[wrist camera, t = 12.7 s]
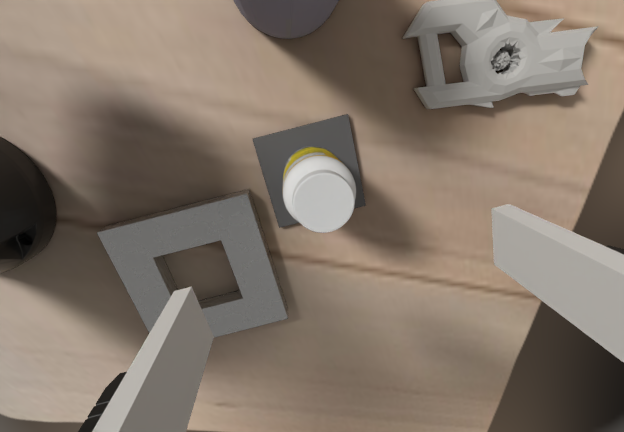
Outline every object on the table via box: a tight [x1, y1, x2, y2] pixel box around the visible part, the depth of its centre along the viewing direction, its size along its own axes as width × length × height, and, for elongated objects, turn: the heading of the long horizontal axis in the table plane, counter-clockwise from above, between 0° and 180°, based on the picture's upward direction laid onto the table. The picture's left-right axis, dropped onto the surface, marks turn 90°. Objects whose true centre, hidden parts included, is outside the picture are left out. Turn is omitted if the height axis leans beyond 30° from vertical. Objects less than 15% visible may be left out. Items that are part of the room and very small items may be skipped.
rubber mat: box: [253, 114, 366, 228], centre depth 34 cm, size 10×10×1 cm
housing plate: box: [97, 189, 288, 337], centre depth 36 cm, size 16×16×2 cm
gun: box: [402, 0, 598, 109], centre depth 31 cm, size 18×3×10 cm
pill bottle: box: [283, 146, 356, 233], centre depth 29 cm, size 6×6×11 cm
